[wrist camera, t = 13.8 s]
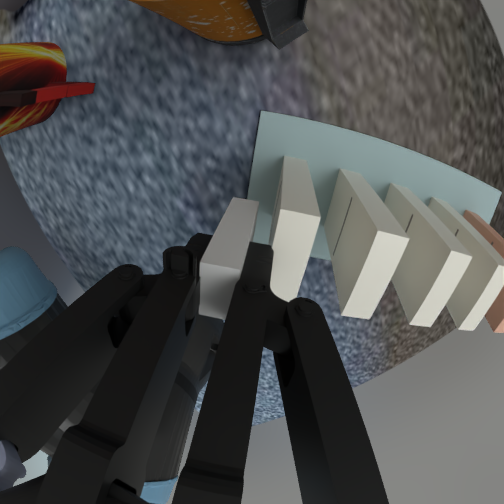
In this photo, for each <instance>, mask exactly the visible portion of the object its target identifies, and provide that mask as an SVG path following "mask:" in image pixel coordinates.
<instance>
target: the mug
mask: <svg viewBox="0 0 504 504" xmlns="http://www.w3.org/2000/svg"><path fill="white" fill-rule="evenodd" d="M66 75H67V68H66V60H65V56H64V54H63V52H62V50H61V49H60V47H59V46H57V45H56V44H54V43H51V42H29V43H10V44H0V137H1V136H4V135H6V134H9V133H12V132H14V131H17V130H20V129H23V128H26V127H29V126H32V125H35V124H38V123H41V122H43V121H45V120H46V119H48V118H49V117H50V116H51V115H52V114H53V113H54V111H55V110H56V108H57V106H58V105H59V102H60V100H61V98H64V97H71V96H77V95H84V94H91V93H93V91H94V86H95V83H88V82H66Z"/></svg>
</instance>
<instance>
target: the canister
mask: <svg viewBox="0 0 504 504" xmlns="http://www.w3.org/2000/svg"><path fill="white" fill-rule="evenodd" d="M129 1H131V2H133V3H136V4H138V5H140V6H143V7H145V8H147V9H149V10H151V11H153V12H155V13H158V14H160V15H162V16H164V17H166V18H168V19H170V20H171V21H173V22H175V23H177V24H179V25H181V26H183V27H185V28H186V29H188V30H190V31H192V32H194V33H195V34H197V35H199V36H200V37H202V38H204V39H206V40H209V41H211V42H214V43H218V44H223V45H244V44H251V43H254V42H258V41H261V40H263V39H266V38H267V39H268V40H269V41H270V42H272V43H273V44H274V45H275V46H276V47H277V48H278V49H279V50H280V49H281V48H283V47H284V46H286V45H287V44H289V43H290V42H292V41H293V40H295V39H296V38H298V37H299V36H301V35H302V34H304V33H306V32H307V31H309V30H308V28H307V26H306V24H305V23H304V21H303V18H304V13H305V8H306V3H307V0H129Z"/></svg>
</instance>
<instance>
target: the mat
mask: <svg viewBox="0 0 504 504" xmlns="http://www.w3.org/2000/svg"><path fill="white" fill-rule="evenodd" d="M284 156H289V157H294V158H299V159H303V160H307V164H308V168H309V171H310V175H311V179H312V183H313V187H314V191H315V195H316V199H317V203H318V207H319V211H320V215H321V219H320V222H319V226H318V229H317V233H316V236H315V239H314V243H313V246H312V249H311V253H310V256H309V257H315V258H320V259H325V260H330V261H331V258H330V253H329V248H328V243H327V239H326V234H325V230H324V223H325V220H326V217H327V213H328V210H329V206H330V203H331V199H332V196H333V192H334V188H335V185H336V181H337V177H338V173H339V170H340V168H342V169H345V170H349V171H353V172H357V173H360V174H361V175H362V176H363V177H364V179H365V180H366V181H367V182H368V183H369V185H370V186H371V187H372V188H373V190H374V191H375V192H376V193H377V195H378V196H379V197H380V199H381V200H382V201H383V202H384V201H385V198H386V195H387V192H388V189H389V186H390V183H394V184H397V185H400V186H403V187H406V188H409V189H410V190H411V191H412V192H413V193H414V194H415V195H416V196H417V197H418V198H419V199H420V200H421V201H422V202H423V203H424V204H425V205H426V206H427V207H428V205H429V203H430V200H431V197H432V196H433V197H435V198H438V199H441V200H443V201H446V202H447V203H448V204H449V205H451V206H452V207H453V208H454V209H455V210H456V211H457V212H458V213H459V214H460V215H462V216H463V215H464V213H465V210H469V211H471V212H473V213H476V214H478V215H479V216H480V217H481V218H482V219H483V220H484V221H485V222H486V223H488V224H489V223H490V221H491V218H492V216H493V214H494V211H495V209H496V206H497V203H498V201H499V198H500V195H501V193H502V192H500V191H499V190H497V189H495V188H493V187H491V186H490V185H488V184H486V183H484V182H482V181H480V180H478V179H476V178H474V177H472V176H470V175H468V174H466V173H464V172H462V171H460V170H458V169H455V168H453V167H451V166H449V165H447V164H444V163H442V162H440V161H437V160H435V159H433V158H430V157H428V156H425V155H423V154H420V153H418V152H415V151H412V150H410V149H407V148H404V147H402V146H399V145H396V144H393V143H390V142H387V141H384V140H381V139H378V138H375V137H372V136H369V135H366V134H362V133H359V132H356V131H352V130H349V129H345V128H341V127H337V126H334V125H330V124H326V123H322V122H317V121H313V120H309V119H304V118H299V117H295V116H290V115H285V114H279V113H274V112H268V111H261V115H260V121H259V127H258V133H257V140H256V146H255V152H254V158H253V164H252V170H251V177H250V183H249V189H248V196H247V199H248V200H253V201H259V207H258V213H257V220H256V226H255V232H254V238H253V242H256V243H262V244H267V245H268V243H269V236H270V229H271V221H272V215H273V210H274V205H275V200H276V195H277V190H278V185H279V180H280V175H281V170H282V165H283V160H284Z"/></svg>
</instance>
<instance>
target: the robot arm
mask: <svg viewBox="0 0 504 504" xmlns="http://www.w3.org/2000/svg"><path fill="white" fill-rule="evenodd" d="M258 207H259V201H253V200H248V199H242V198H236V197H233V198H232V200H231V202H230V204H229V206H228V208H227V210H226V212H225V214H224V215H223V217H222V219H221V221H220V223H219V225H218V227H217V229H216V231H215V233H214V235H208V234H202V233H197V234H196V235H194V236H192V237H191V238H190V240H189V242H188V244H187V245H186V246H174V247H170V248H168V249H166V250H165V251H164V252H163V267H164V270H163V272H162V274H156V275H143V271H142V269H141V268H140V267H138V266H136V265H133V264H125V265H121V266H119V267H117V268H115V269H114V270H112V271H111V272H110V273H109V274H107V275H106V276H105V277H104V278H102V279H101V280H100V281H99V282H97V283H96V284H95V285H94V286H93V287H91V288H90V289H89V290H88V291H86V292H85V293H84V294H83V295H82V296H80V297H79V298H78V299H77V300H76V301H74V302H73V303H72V304H71V305H70V306H69V307H68V306H67V305H66V304H65V302H64V301H63V300H62V299H61V297H60V296H59V294H58V293H57V288H56V287H55V286H54V284H53V283H52V282H51V281H49V280H47V278H46V277H45V276H44V274H43V273H42V272H41V271H40V269H39V268H38V267H37V265H36V264H35V262H34V261H33V260H32V258H31V257H30V255H29V254H28V253H27V252H26V251H25V250H23V249H21V248H19V247H12V246H11V247H7V248H4V249H3V250H1V251H0V504H165V503H166V502H167V501H168V499H169V497H170V494H171V491H172V489H173V486H174V484H175V482H176V481H177V479H178V475H177V474H178V471H179V466H180V463H181V458H182V454H183V451H184V447H185V443H186V439H187V435H188V431H189V427H190V423H191V419H192V416H193V412H194V408H195V404H196V401H197V397H198V394H199V392H200V391H201V389H202V388H203V387H204V385H205V384H206V382H207V381H208V384H207V387H206V391H205V395H204V398H203V402H202V406H201V409H200V413H199V417H198V420H197V424H196V427H195V431H194V435H193V439H192V442H191V446H190V450H189V453H188V457H187V460H186V463H185V466H184V467H183V469H182V471H181V473H180V476H179V479H178V482H177V486H176V490H175V493H174V497H173V501H172V504H241V499H242V493H243V485H244V484H243V483H244V479H243V476H244V469H245V463H246V457H247V451H248V445H249V439H250V432H251V426H252V420H253V413H254V407H255V400H256V393H257V386H258V380H259V373H260V365H261V358H262V351H263V347H265V348H267V349H269V350H272V351H273V355H274V360H275V366H276V371H277V376H278V381H279V386H280V391H281V396H282V401H283V406H284V411H285V416H286V421H287V426H288V431H289V436H290V441H291V446H292V451H293V456H294V461H295V466H296V471H297V476H298V481H299V487H300V491H301V497H302V502H303V504H389V502H388V499H387V495H386V492H385V488H384V485H383V482H382V479H381V475H380V472H379V468H378V465H377V462H376V459H375V455H374V452H373V449H372V446H371V443H370V440H369V437H368V434H367V431H366V428H365V425H364V422H363V419H362V416H361V413H360V410H359V407H358V404H357V402H356V399H355V396H354V393H353V390H352V387H351V385H350V382H349V379H348V376H347V374H346V371H345V368H344V366H343V363H342V360H341V358H340V355H339V352H338V350H337V347H336V344H335V342H334V339H333V337H332V334H331V331H330V329H329V326H328V324H327V321H326V319H325V316H324V314H323V311H322V309H321V307H320V306H319V305H318V304H317V303H316V302H315V301H313V300H310V299H308V298H302V297H299V298H294V299H292V300H290V301H289V302H287V301H285V300H283V299H281V298H279V297H277V296H276V295H275V294H274V293H273V292H272V290H271V288H270V281H271V272H272V264H273V256H274V251H273V249H272V247H271V245H267V244H262V243H256V242H253V238H254V232H255V226H256V220H257V213H258ZM222 319H224V320H225V323H223V321H222ZM39 450H41V451H43V452H45V453H46V454H48V455H49V456H48V470H47V473H46V474H44V475H42V476H39V477H37V478H34V479H32V480H29V481H27V482H24V483H22V484H19V485H17V486H14V487H13V484H14V482H15V481H16V480H17V479H18V478H23V477H25V475H26V469H25V467H24V465H23V464H22V463H23V462H25V461H26V460H28V459H30V458H31V457H32V456H33V455H35V454H36V453H37V452H38V451H39Z"/></svg>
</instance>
